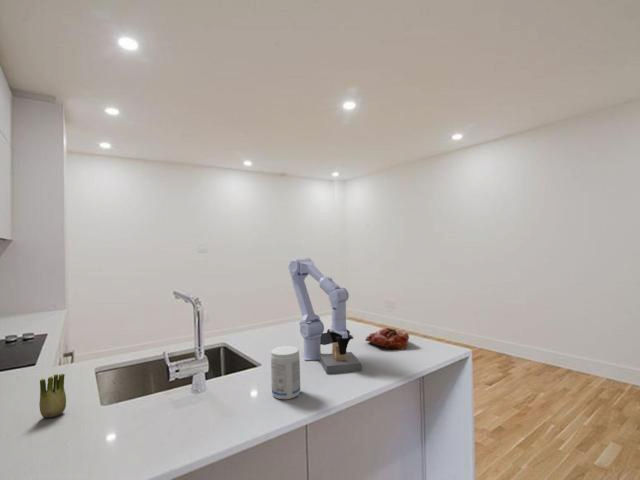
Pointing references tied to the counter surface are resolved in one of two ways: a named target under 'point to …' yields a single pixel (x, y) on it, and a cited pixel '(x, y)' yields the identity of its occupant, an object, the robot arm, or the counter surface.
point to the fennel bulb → (52, 396)
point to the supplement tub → (285, 372)
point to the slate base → (340, 363)
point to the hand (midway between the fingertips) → (339, 351)
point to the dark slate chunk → (329, 338)
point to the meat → (389, 338)
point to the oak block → (337, 353)
